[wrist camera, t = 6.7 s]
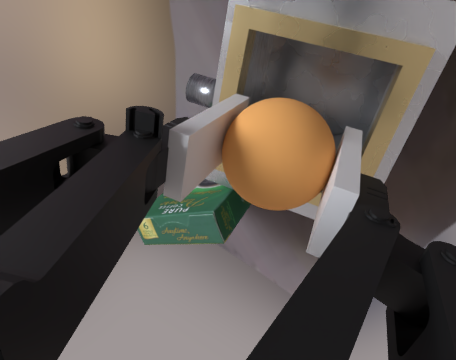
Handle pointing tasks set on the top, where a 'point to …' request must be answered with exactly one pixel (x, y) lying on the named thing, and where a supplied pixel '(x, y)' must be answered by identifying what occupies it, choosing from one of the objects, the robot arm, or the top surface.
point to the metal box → (336, 67)
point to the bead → (278, 153)
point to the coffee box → (194, 216)
